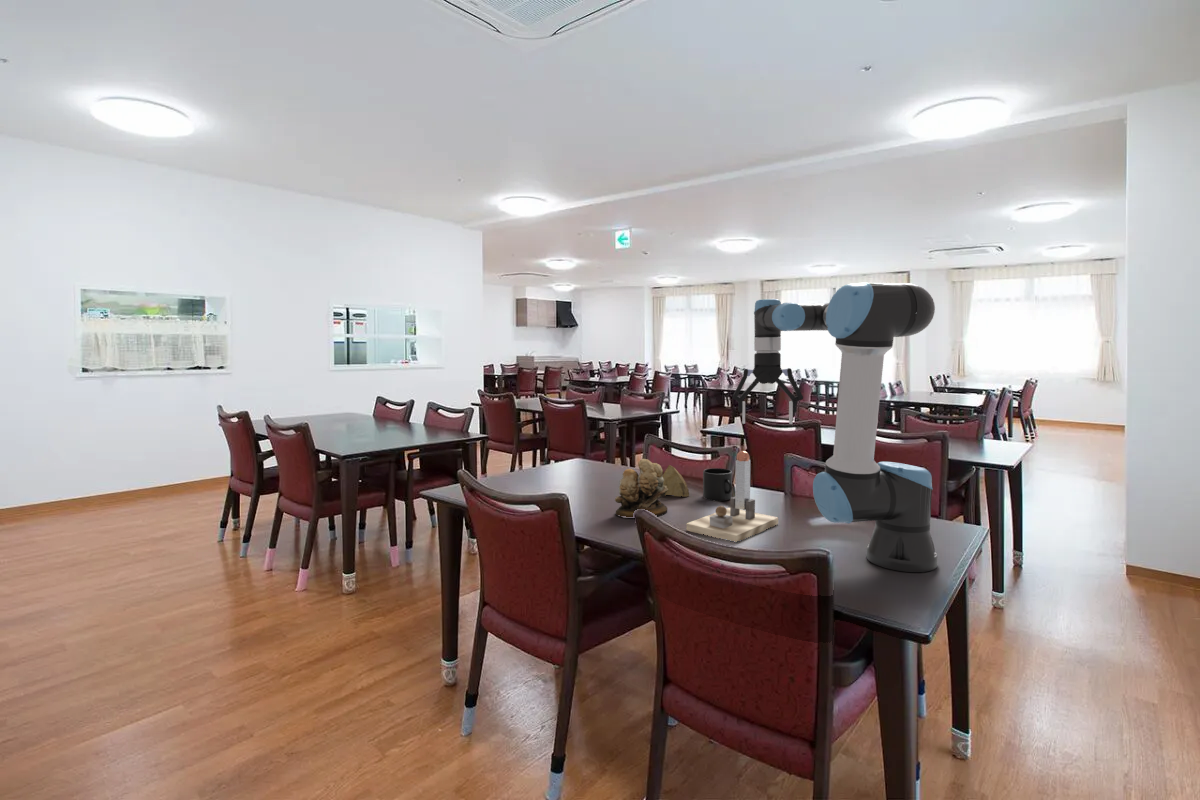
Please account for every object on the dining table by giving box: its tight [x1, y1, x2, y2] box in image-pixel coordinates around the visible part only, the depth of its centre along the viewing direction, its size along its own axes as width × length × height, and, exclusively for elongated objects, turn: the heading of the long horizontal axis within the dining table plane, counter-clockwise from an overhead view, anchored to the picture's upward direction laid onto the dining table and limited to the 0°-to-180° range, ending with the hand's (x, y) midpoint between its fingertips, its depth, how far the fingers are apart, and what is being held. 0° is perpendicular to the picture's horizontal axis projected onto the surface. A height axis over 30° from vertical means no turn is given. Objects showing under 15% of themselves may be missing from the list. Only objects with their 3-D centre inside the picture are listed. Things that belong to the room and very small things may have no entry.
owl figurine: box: [614, 458, 668, 517], centre depth 189 cm, size 18×12×17 cm, turn 119°
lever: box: [734, 450, 751, 511], centre depth 177 cm, size 4×4×17 cm
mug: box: [702, 467, 733, 502], centre depth 205 cm, size 9×12×9 cm
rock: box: [662, 464, 690, 498], centre depth 210 cm, size 11×9×10 cm
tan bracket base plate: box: [686, 496, 779, 542], centre depth 174 cm, size 22×16×7 cm
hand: (767, 423), depth 185 cm, fingers open, 13 cm apart
